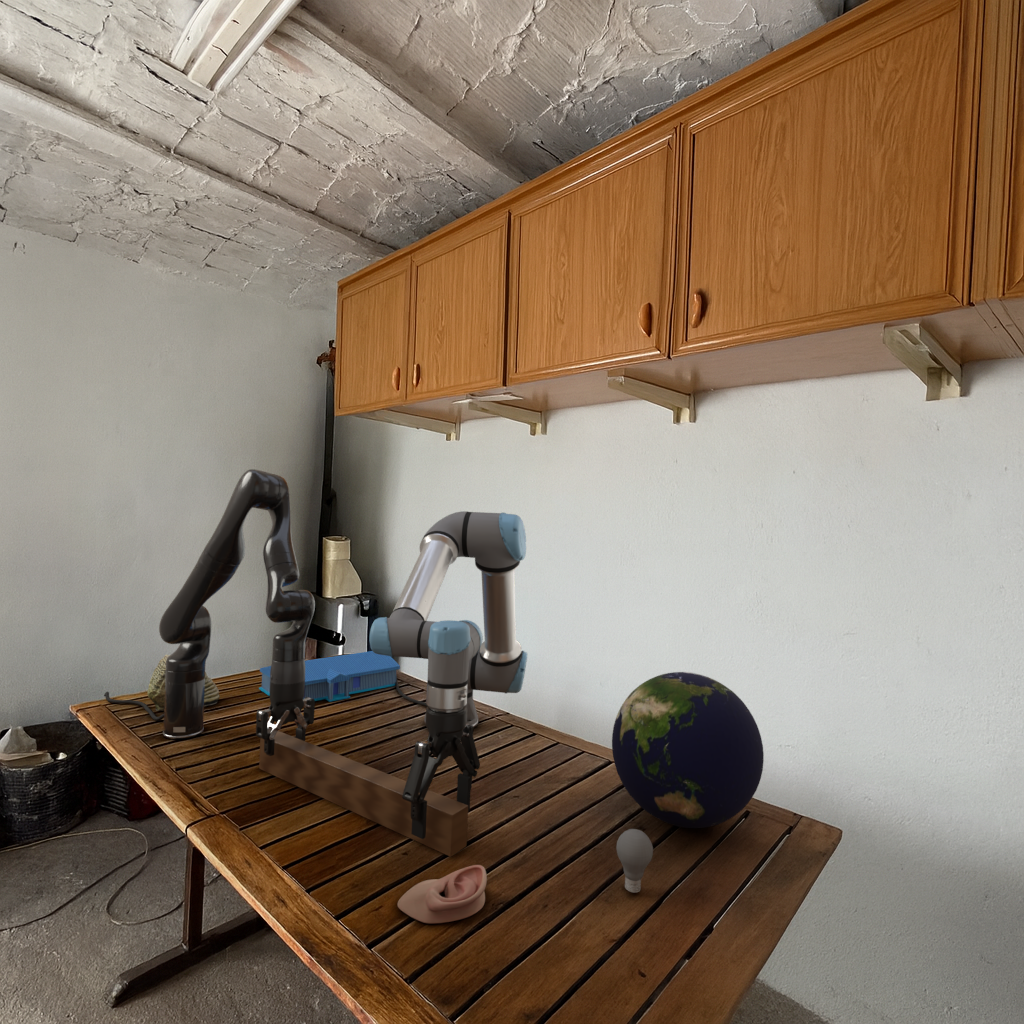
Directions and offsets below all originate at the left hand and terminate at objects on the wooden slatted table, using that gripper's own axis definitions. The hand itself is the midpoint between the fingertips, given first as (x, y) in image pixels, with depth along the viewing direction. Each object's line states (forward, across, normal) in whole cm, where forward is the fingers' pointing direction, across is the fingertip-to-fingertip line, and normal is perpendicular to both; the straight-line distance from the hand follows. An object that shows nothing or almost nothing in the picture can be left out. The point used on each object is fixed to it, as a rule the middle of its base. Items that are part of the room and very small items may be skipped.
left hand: (285, 749), depth 144 cm
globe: (+5, +38, -80) cm, 88 cm away
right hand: (+1, 0, -47) cm, 47 cm away
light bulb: (+5, +9, -81) cm, 82 cm away
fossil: (+5, +8, +59) cm, 60 cm away
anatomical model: (+5, -13, -58) cm, 60 cm away
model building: (+5, +48, +42) cm, 64 cm away
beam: (+5, 0, -23) cm, 23 cm away
